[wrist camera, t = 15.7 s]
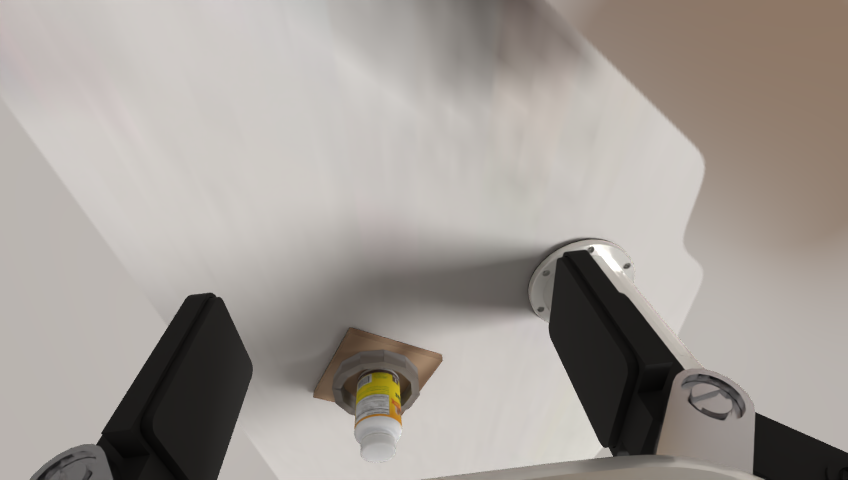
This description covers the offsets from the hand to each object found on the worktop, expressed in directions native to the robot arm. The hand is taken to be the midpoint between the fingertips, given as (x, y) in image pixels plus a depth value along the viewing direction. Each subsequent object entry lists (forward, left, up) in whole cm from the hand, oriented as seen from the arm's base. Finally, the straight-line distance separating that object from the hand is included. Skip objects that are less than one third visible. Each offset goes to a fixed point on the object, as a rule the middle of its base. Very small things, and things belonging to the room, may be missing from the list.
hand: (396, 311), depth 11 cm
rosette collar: (-14, +34, -28) cm, 46 cm away
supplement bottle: (-14, +34, -28) cm, 46 cm away
